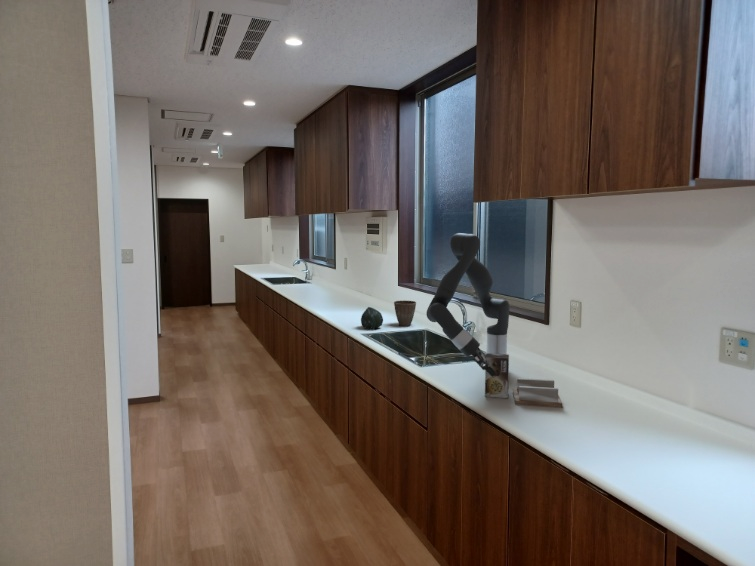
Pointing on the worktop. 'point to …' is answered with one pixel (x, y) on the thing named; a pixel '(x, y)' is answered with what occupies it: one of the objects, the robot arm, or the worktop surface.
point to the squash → (371, 318)
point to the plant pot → (405, 312)
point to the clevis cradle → (536, 393)
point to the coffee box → (497, 376)
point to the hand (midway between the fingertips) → (494, 372)
